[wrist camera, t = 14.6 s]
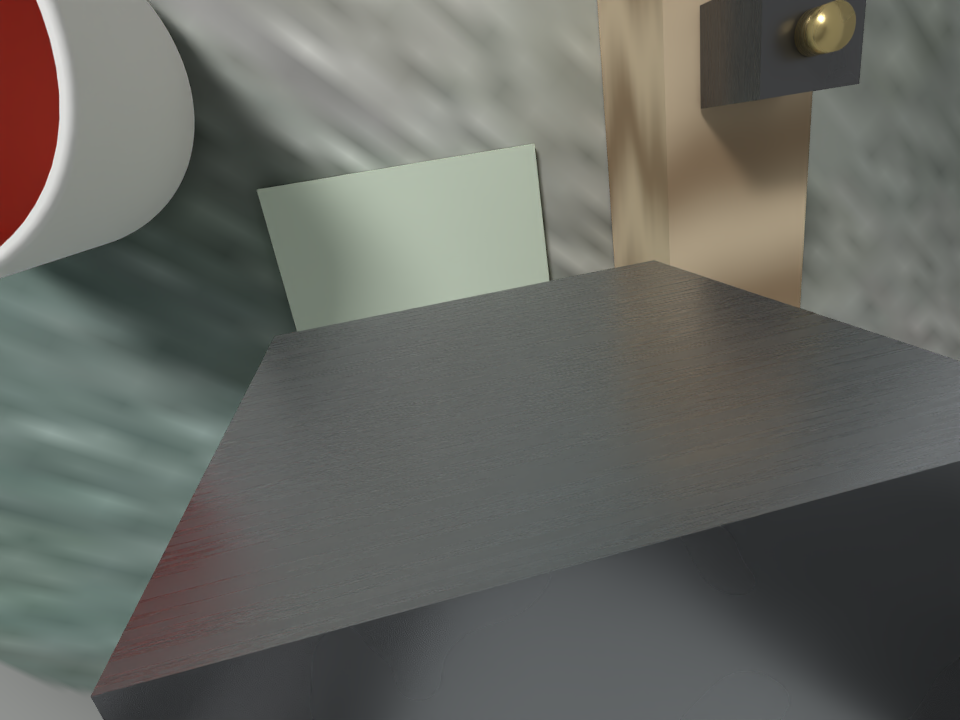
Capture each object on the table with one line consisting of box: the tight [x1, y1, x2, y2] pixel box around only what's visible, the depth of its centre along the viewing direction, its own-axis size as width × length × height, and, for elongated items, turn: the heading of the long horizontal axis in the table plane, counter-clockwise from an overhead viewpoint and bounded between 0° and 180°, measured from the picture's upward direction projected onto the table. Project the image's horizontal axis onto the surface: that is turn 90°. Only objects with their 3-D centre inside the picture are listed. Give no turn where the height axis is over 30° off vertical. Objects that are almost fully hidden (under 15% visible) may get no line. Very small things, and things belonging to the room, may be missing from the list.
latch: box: [700, 0, 866, 109], centre depth 17 cm, size 3×3×4 cm
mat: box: [257, 144, 549, 332], centre depth 24 cm, size 12×11×1 cm
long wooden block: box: [597, 0, 812, 308], centre depth 22 cm, size 22×6×5 cm, turn 9°
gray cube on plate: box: [91, 260, 960, 720], centre depth 8 cm, size 8×7×7 cm
